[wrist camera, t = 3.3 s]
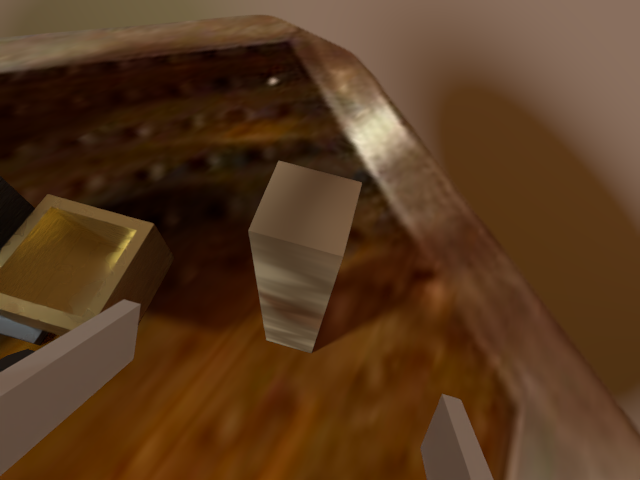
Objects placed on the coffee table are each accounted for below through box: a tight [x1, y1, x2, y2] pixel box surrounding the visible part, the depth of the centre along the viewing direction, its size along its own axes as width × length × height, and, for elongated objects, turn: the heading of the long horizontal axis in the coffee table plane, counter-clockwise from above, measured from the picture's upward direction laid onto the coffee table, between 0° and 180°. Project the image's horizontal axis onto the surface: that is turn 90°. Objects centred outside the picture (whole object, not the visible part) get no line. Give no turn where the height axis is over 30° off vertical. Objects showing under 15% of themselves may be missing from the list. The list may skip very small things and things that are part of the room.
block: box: [248, 161, 362, 353], centre depth 23 cm, size 4×4×18 cm
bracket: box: [0, 176, 174, 345], centre depth 25 cm, size 18×9×13 cm, turn 75°
